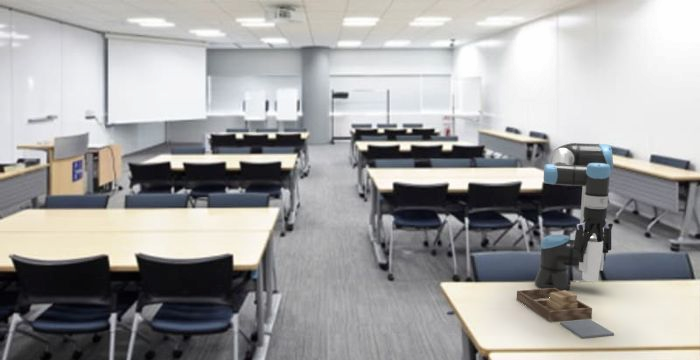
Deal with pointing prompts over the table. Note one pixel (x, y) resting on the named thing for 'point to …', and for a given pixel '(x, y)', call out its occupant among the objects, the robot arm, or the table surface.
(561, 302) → the offcut top
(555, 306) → the offcut middle
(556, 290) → the tray
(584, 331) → the mat
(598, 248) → the drinking glass
